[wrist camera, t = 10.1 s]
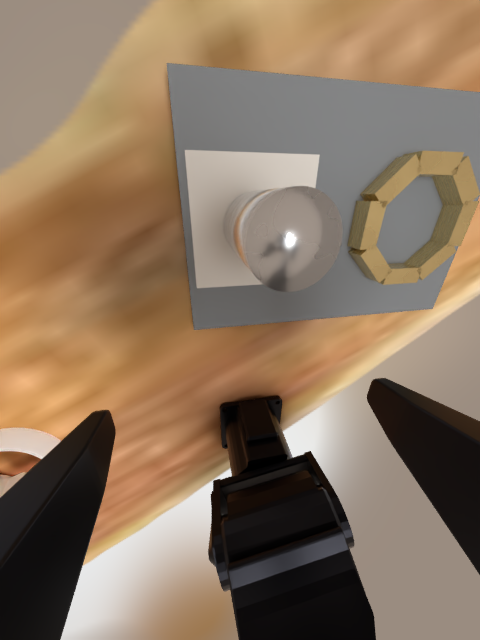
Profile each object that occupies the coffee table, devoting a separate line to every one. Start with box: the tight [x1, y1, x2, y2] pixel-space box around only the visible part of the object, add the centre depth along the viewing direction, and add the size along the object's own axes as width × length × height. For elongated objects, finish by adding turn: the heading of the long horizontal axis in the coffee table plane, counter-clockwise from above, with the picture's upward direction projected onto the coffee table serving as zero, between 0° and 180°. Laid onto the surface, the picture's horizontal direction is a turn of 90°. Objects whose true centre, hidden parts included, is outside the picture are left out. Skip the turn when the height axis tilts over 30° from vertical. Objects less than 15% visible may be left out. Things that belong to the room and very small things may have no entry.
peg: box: [223, 186, 343, 292], centre depth 12 cm, size 4×4×7 cm
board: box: [167, 63, 480, 330], centre depth 17 cm, size 15×22×1 cm
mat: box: [185, 150, 320, 288], centre depth 16 cm, size 8×8×1 cm
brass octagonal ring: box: [347, 151, 480, 285], centre depth 17 cm, size 8×8×2 cm
